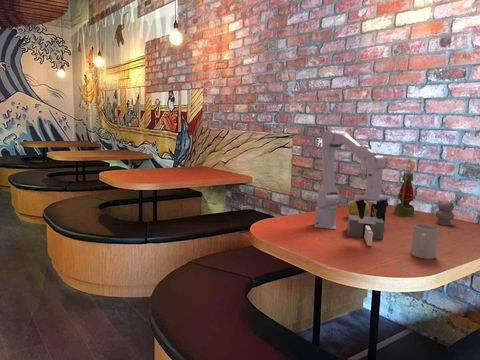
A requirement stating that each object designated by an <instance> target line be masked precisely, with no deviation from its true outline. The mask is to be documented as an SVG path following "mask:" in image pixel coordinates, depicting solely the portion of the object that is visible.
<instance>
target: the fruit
mask: <svg viewBox="0 0 480 360" xmlns="http://www.w3.org/2000/svg"><path fill="white" fill-rule="evenodd" d="M364 202H365V203H366V207H365V211H364V216H368V215H369V213H370V212H369V211H370V205H369V203H368V201H364ZM347 211H348V213H349V214H348V215H357V216H359V211H358V208H357V205H356V203H355V200H354V199H353V200H352V201H350V203H349V204H348V207H347Z"/></svg>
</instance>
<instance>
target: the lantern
mask: <svg viewBox="0 0 480 360" xmlns="http://www.w3.org/2000/svg"><path fill="white" fill-rule="evenodd" d="M409 163H410V166H412V165H413V164H412V160H410V159H409V160H408V161H407V164H406V171H405V172H403V175H402V179H401V180H402V181H403V182H402V184H401V187H400V189H399V192H397V198H398V200H399V202H400V203H397V204H395V205H394V210H393V214H394V215H396V216H400V217H414V216H415V214H414V212H415V207H414V205H412V204H410V203H411V202H412V201H413V200H414V198H415V194H414V188H413V181H414V173H413V172H412V167H408V166H409Z"/></svg>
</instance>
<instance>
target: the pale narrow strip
mask: <svg viewBox="0 0 480 360" xmlns="http://www.w3.org/2000/svg"><path fill="white" fill-rule="evenodd" d="M363 235H364V237H363V238H364V240H365V243H366V246H367V247H372V245H373V238H372V237H373V232H372V230H371V228H370V226H366V225H365V233H363Z"/></svg>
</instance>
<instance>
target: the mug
mask: <svg viewBox="0 0 480 360" xmlns="http://www.w3.org/2000/svg"><path fill="white" fill-rule="evenodd" d="M439 233H440V228H439V227H437V226H436V225H432V224H426V223H416V224H414V225H413V231H412V240H411V247H410V255H411V256H413V257H416V258H418V259H423V258H424V260H433V258H434V259H435V258H437V249H438V241H439Z"/></svg>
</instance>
